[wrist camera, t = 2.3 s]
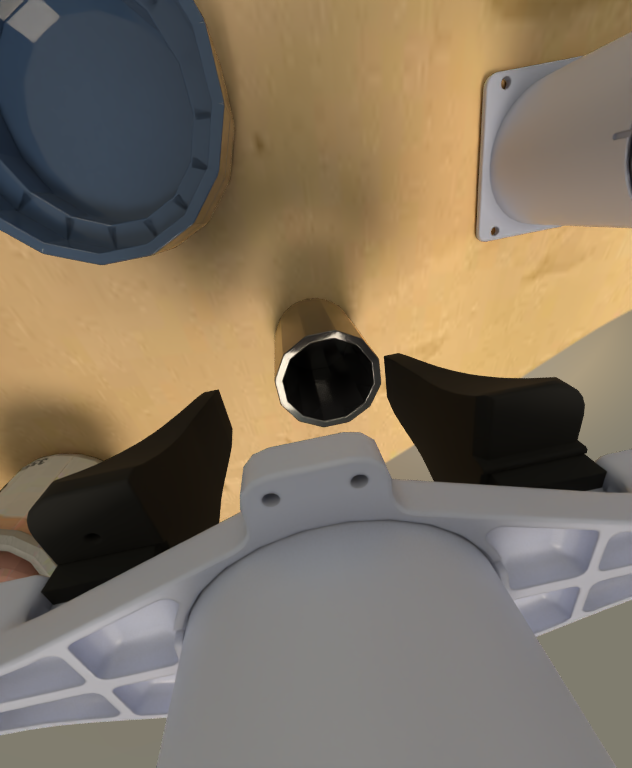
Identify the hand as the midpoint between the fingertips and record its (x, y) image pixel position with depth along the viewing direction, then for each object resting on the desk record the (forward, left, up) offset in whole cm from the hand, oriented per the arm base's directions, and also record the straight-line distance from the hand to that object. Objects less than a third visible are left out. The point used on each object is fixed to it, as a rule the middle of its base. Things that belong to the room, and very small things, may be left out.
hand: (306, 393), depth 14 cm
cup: (-1, +1, -9) cm, 9 cm away
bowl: (+7, -12, -9) cm, 17 cm away
